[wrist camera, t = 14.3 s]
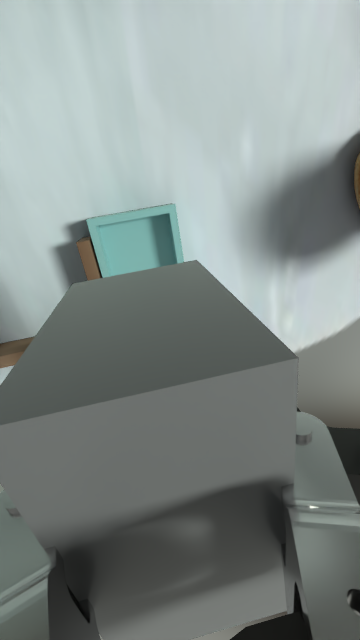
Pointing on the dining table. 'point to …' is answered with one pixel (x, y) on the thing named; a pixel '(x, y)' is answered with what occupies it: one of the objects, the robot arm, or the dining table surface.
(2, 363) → the walnut bay
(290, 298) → the dining table surface
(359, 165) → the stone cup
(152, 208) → the teal tray
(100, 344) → the chamfered grey block
